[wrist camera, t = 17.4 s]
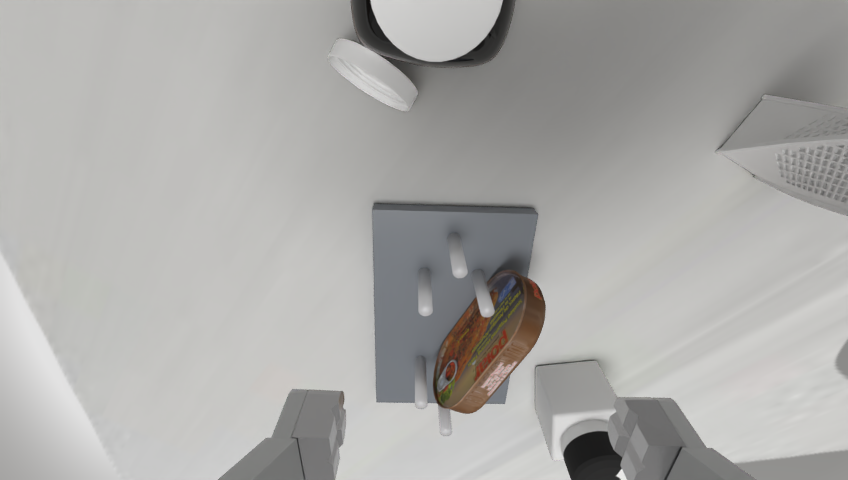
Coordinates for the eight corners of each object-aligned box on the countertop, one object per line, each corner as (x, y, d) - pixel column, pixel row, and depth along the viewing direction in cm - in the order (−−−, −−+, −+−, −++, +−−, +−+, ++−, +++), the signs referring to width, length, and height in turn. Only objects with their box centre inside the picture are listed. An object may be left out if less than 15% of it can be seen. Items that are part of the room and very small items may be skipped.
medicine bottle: (534, 408, 49) (567, 510, 38) (534, 364, 46) (570, 462, 35) (592, 402, 49) (642, 503, 38) (596, 358, 46) (651, 455, 35)
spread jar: (505, -45, 29) (555, -96, 18) (477, 116, 34) (505, 148, 23) (338, -69, 28) (292, -137, 18) (335, 99, 33) (297, 124, 23)
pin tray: (533, 208, 37) (559, 244, 31) (502, 393, 48) (516, 450, 41) (373, 203, 37) (364, 238, 30) (377, 392, 48) (371, 449, 41)
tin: (508, 253, 38) (531, 305, 30) (534, 267, 39) (563, 321, 31) (428, 359, 43) (431, 425, 36) (453, 369, 44) (460, 436, 37)
